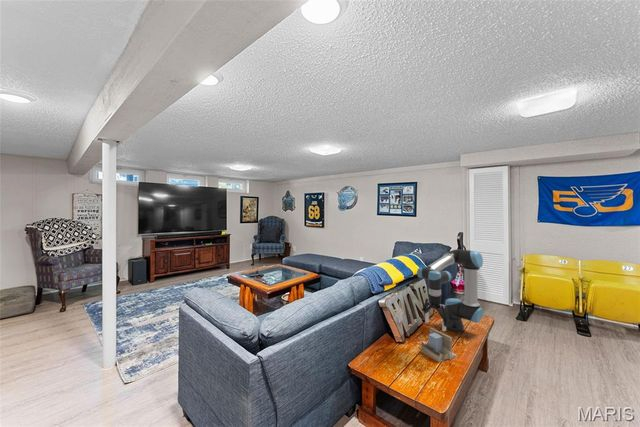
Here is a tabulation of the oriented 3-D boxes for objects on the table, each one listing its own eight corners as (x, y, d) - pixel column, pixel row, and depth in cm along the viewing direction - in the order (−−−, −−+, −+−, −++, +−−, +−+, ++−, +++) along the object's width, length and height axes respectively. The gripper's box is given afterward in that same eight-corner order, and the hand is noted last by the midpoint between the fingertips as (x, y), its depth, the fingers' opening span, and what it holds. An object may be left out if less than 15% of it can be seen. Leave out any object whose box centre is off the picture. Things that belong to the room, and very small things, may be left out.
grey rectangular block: (434, 345, 174) (434, 332, 174) (442, 349, 169) (442, 336, 169) (428, 347, 172) (428, 334, 172) (436, 352, 166) (436, 338, 166)
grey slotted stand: (436, 345, 182) (436, 325, 182) (457, 356, 168) (456, 335, 167) (420, 350, 175) (420, 330, 175) (440, 363, 161) (440, 341, 161)
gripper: (416, 290, 179) (416, 320, 180) (447, 301, 157) (448, 336, 157) (424, 288, 182) (424, 317, 183) (455, 299, 160) (456, 333, 161)
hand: (435, 326), depth 170 cm, fingers open, 13 cm apart
